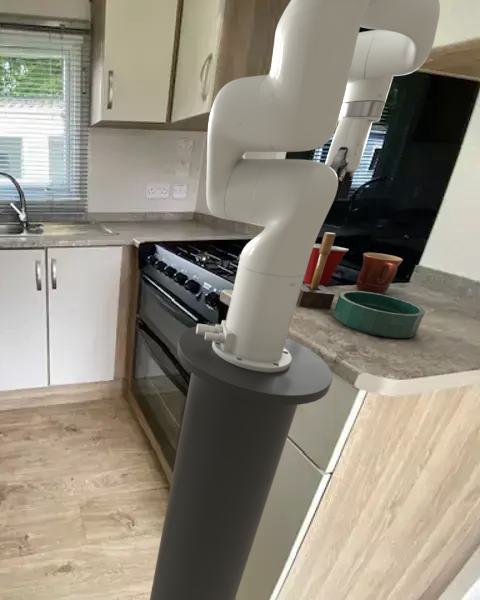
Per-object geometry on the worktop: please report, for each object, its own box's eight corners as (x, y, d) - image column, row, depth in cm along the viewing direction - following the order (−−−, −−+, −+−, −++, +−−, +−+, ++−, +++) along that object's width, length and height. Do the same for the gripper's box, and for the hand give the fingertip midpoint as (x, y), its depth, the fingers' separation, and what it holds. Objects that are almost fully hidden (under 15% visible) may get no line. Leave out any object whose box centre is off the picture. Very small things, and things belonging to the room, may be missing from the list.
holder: (299, 306, 88) (303, 291, 87) (290, 296, 95) (294, 282, 93) (330, 309, 87) (335, 294, 86) (318, 299, 93) (323, 285, 92)
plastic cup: (338, 284, 107) (351, 245, 103) (333, 292, 100) (347, 251, 95) (298, 276, 114) (309, 239, 109) (290, 283, 106) (301, 244, 102)
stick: (306, 303, 90) (327, 233, 84) (303, 300, 92) (323, 231, 86) (315, 304, 90) (337, 234, 83) (312, 302, 92) (333, 232, 85)
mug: (347, 284, 108) (358, 251, 104) (380, 288, 106) (393, 254, 102) (364, 297, 97) (376, 261, 93) (401, 301, 95) (416, 265, 91)
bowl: (350, 334, 74) (359, 310, 72) (322, 309, 87) (329, 288, 85) (432, 344, 71) (443, 319, 69) (389, 316, 84) (398, 295, 82)
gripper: (345, 119, 82) (324, 196, 88) (328, 109, 70) (304, 199, 76) (387, 117, 77) (361, 199, 83) (375, 107, 65) (346, 202, 71)
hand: (334, 199), depth 80 cm, fingers open, 9 cm apart
